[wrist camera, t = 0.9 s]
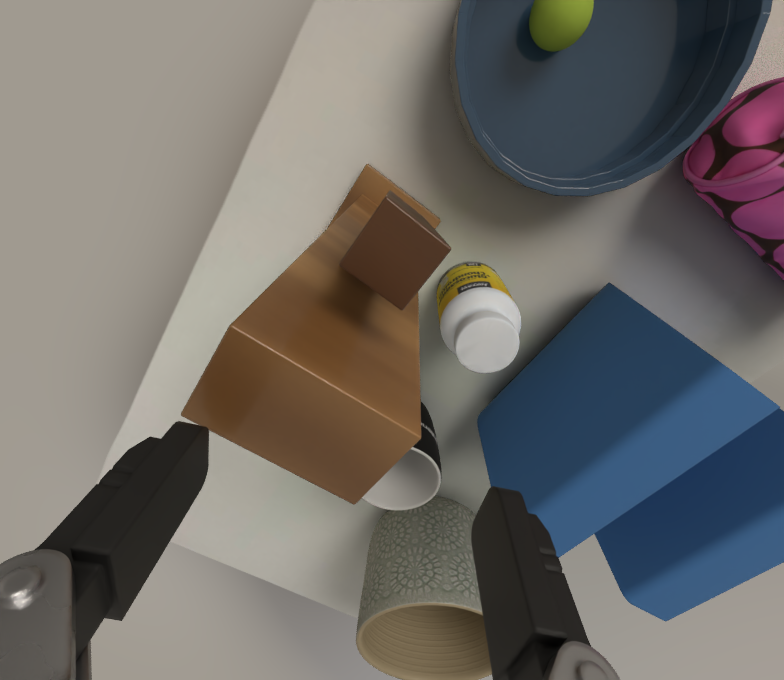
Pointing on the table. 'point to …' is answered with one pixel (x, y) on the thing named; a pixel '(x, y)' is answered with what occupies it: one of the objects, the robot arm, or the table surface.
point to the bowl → (598, 87)
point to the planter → (423, 596)
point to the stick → (395, 251)
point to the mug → (411, 474)
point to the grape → (559, 22)
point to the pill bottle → (478, 317)
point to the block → (643, 456)
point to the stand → (321, 364)
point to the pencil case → (746, 168)
